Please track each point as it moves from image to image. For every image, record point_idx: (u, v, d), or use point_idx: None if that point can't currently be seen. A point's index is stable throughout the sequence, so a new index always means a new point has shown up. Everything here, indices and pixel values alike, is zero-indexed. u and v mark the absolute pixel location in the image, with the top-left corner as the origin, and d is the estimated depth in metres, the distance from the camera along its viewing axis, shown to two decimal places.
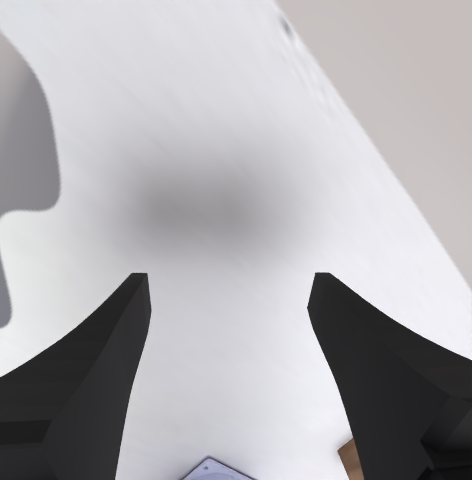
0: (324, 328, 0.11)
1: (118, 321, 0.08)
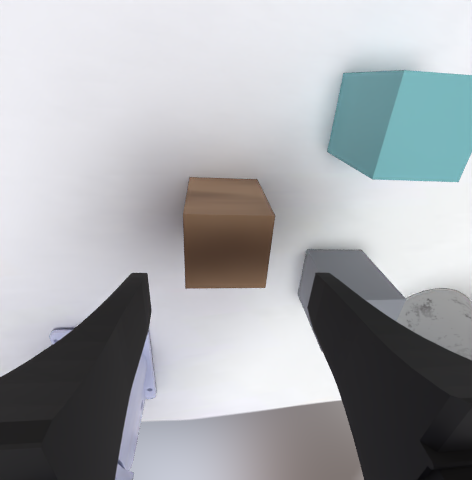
0: (324, 328, 0.11)
1: (118, 321, 0.08)
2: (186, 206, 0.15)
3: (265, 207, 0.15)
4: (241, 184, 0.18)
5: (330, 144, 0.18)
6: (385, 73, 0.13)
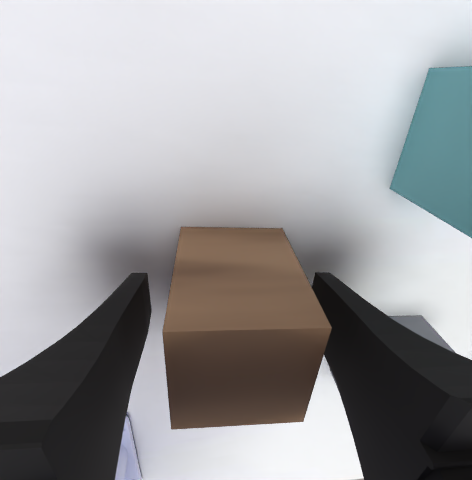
0: None
1: (118, 321, 0.08)
2: (170, 306, 0.08)
3: (309, 302, 0.09)
4: (260, 241, 0.12)
5: (397, 178, 0.12)
6: None
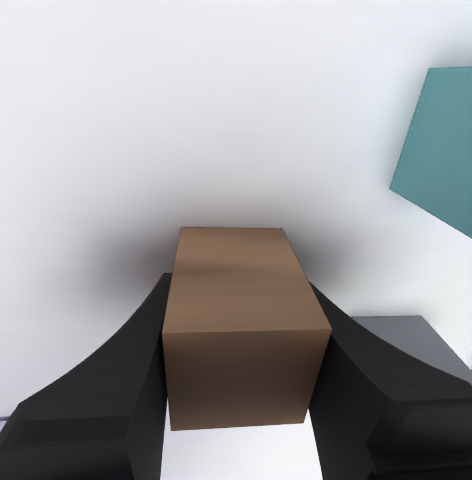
0: None
1: (162, 320, 0.09)
2: (170, 307, 0.08)
3: (309, 303, 0.09)
4: (260, 241, 0.12)
5: (396, 179, 0.12)
6: None
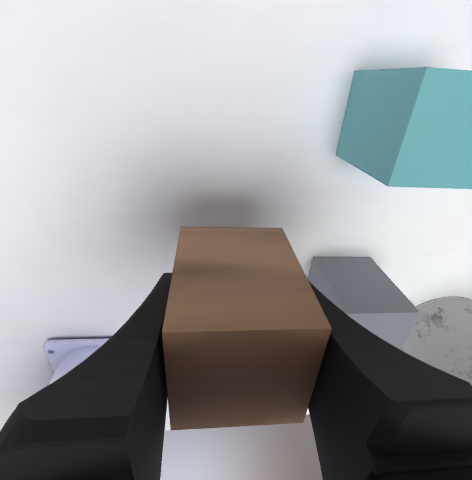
0: None
1: (162, 320, 0.09)
2: (170, 306, 0.08)
3: (309, 302, 0.09)
4: (260, 241, 0.12)
5: (339, 147, 0.17)
6: (403, 71, 0.12)
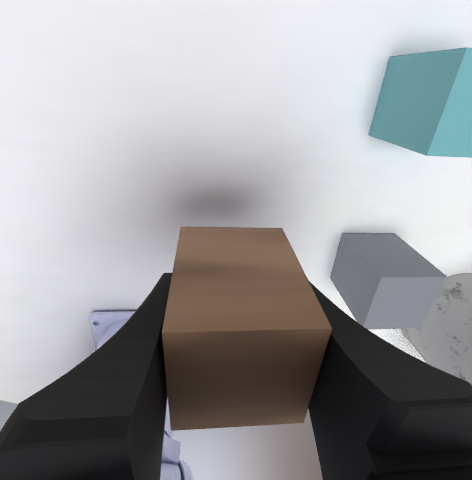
0: None
1: (162, 320, 0.09)
2: (170, 306, 0.08)
3: (309, 302, 0.09)
4: (260, 241, 0.12)
5: (372, 127, 0.19)
6: (443, 52, 0.13)
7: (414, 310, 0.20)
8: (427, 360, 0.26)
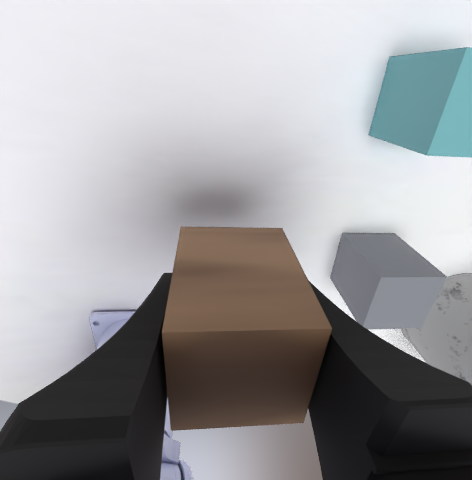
0: None
1: (162, 320, 0.09)
2: (170, 306, 0.08)
3: (309, 302, 0.09)
4: (260, 241, 0.12)
5: (372, 127, 0.19)
6: (443, 52, 0.13)
7: (414, 310, 0.20)
8: (427, 360, 0.26)
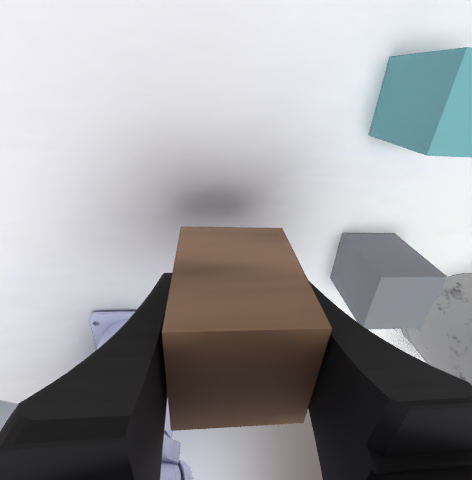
0: None
1: (162, 320, 0.09)
2: (170, 306, 0.08)
3: (309, 302, 0.09)
4: (260, 241, 0.12)
5: (372, 127, 0.19)
6: (443, 52, 0.13)
7: (414, 309, 0.20)
8: (427, 360, 0.26)
